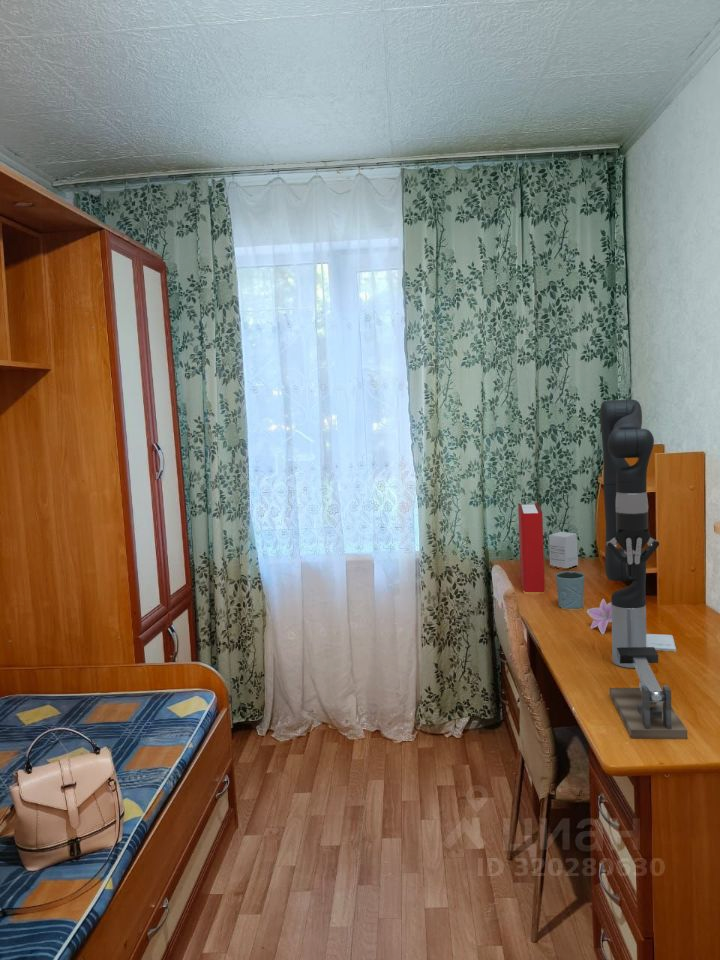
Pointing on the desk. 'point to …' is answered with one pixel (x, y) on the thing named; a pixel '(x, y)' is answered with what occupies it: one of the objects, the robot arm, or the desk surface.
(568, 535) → the supplement box
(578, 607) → the blue plant pot
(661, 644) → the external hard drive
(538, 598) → the desk surface
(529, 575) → the book
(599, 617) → the lily
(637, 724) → the base
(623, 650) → the lever
